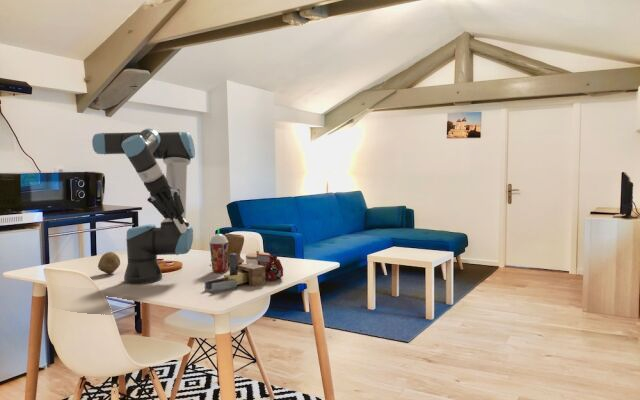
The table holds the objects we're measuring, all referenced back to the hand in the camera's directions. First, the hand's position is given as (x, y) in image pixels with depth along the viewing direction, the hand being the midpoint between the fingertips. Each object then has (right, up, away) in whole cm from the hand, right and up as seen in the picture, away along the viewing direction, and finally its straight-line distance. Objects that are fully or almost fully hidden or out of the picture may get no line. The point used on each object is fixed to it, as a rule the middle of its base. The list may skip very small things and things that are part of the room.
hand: (184, 230), depth 173 cm
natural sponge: (-45, -22, +38) cm, 63 cm away
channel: (+13, -23, +5) cm, 27 cm away
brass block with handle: (+19, -21, +11) cm, 31 cm away
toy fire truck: (+30, -22, +20) cm, 42 cm away
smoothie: (+5, -21, +37) cm, 43 cm away
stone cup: (+7, -20, +55) cm, 59 cm away
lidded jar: (+23, -21, +35) cm, 47 cm away
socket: (+23, -22, +14) cm, 35 cm away
